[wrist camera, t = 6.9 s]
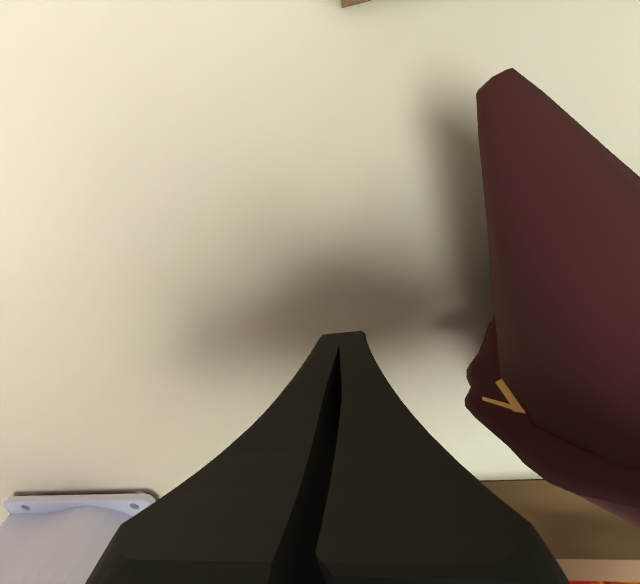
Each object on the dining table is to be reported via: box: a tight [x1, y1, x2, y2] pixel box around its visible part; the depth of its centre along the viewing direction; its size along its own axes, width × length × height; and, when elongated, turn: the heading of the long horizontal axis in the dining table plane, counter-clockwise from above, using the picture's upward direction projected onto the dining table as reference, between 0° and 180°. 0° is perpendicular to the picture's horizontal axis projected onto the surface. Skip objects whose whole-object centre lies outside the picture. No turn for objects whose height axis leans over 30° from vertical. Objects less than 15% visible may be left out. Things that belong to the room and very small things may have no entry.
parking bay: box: [341, 0, 640, 582], centre depth 9 cm, size 12×21×3 cm, turn 10°
